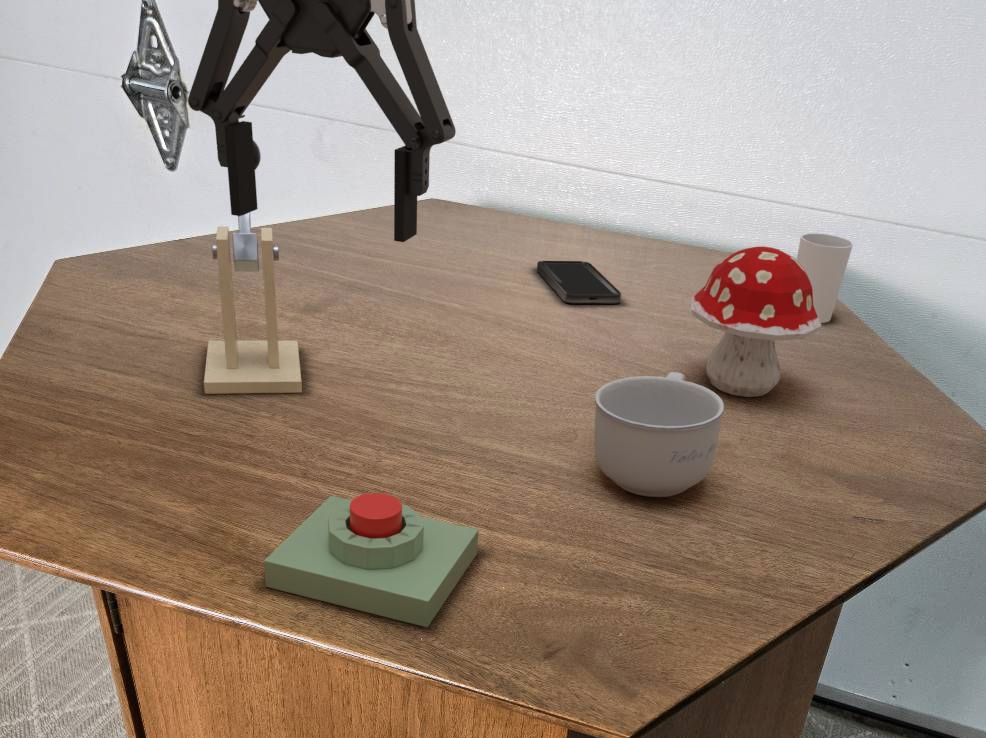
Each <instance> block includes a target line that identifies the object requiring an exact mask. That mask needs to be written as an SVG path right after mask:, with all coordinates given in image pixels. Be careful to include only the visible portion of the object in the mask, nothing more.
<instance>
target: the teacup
mask: <svg viewBox="0 0 986 738" xmlns="http://www.w3.org/2000/svg"><path fill="white" fill-rule="evenodd" d="M594 404H595V414H594V432H593V433H594V434H593V435H594V436H593V439H594V441H593V443H594V456H595V459H596V462H597V464H598V467H599V468H600V470H601V471H602V472H603V474H604V475H605V476H606V477H608V478H609V479H610V480H612V481H613V482H614V484H615V485H617V486H618V487H620V488H621V489H623V490H624V491H627V492H628V493H632V494H635V495H637V496H640V497H641V496H643V497H649V498H667V497H671V496H676V495H678V494H680V493H683V492H685V491H687V490H688V489H689V488H691V487H693V486H696V485H698V484H699V483H700V482H701V481H703V480H704V479H705V477H706V476H707V475H708V473H709V472H710V470H711V469H712V466H713V464H714V461H715V457H716V454H717V453H716V451H717V449H718V448H717V447H718V441H719V437H720V429H721V424H722V423H721V422H722V416H723V414H724V412H725V403H724V401H723V399H722V397H720V395H718V394H717V393H715V392H714V391H713V390H711V389H710V388H708V387H705V386H703V385H701V384H697V383H695V382H692V381H687V380H686V377H685V375H684V374H683V373H681V372H677V371H671V372H669V373H667V375H666V376H651V375H644V376H643V375H642V376H641V375H640V376H639V375H637V376H629V377H624V378H619V379H615V380H613V381H609V382H607V383H605V384H604V385H602V386H600V388H598V389H597V390H596V392H595V395H594Z"/></svg>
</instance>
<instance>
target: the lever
mask: <svg viewBox="0 0 986 738" xmlns="http://www.w3.org/2000/svg"><path fill="white" fill-rule="evenodd" d="M253 148H254V163H255V171H256V170H257V169H258V167H259V165H260V162H261V158H262V156H261V155H262V154H261V150H260V148H259V145H258V144H257V142H256V141H255V140H254V139H253ZM237 222H238V224H237V225H238V232H232V253H233V254H232V255H233V264H234V266H233V267H234V271H235V272H249V273H250V272H253V273H254V272H256V273H258V272H260V260H259V243H258V234H257V233H256V232H255V233H254V232H253V233H252V225H251V224H252V221H251V212H249V213H247V214H244V215H242V216H237Z"/></svg>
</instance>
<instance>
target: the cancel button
mask: <svg viewBox="0 0 986 738" xmlns="http://www.w3.org/2000/svg"><path fill="white" fill-rule="evenodd" d="M351 500H352V501H351V503H350V529H351V531H352V532H353V533H354V534H355V535H358V536H362V537H366V538H370V539H376V538H388V537H391V536H393V535H396V534H398V533H399V532H400V531H401V529H402V504H403V503H402V502H401V501H400V500H399V499H398V497H395V496H393V495H390V494H387V493H380V492H369V493H365V494H361V495H358V496H356V497H355V498H353V499H351Z"/></svg>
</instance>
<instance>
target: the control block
mask: <svg viewBox="0 0 986 738" xmlns="http://www.w3.org/2000/svg"><path fill="white" fill-rule="evenodd" d="M352 500H353V499H349V498H343V497H339V496H334V495H330V496H329V497H327V498H326V499H325V500H324V501H323V503H322V504H321V505H319V506H318V507H317V508H316V509H315V510H314V511H313V512H312V513H311V514H310V515H309V516H308V517H307V518H306V519H304V521H303V522H302V523H301V524H299V526H298V527H297V528H295V530H294V531H293V532H291V534H289V536H288V537H286V539H284V541H282V542H281V543H280V544H279V545H278V546H277V547H276V548H275V549H274V550H273V551H272V552H271V553H270V554H269V555H268V556H267V557H266V558H265V559H264V560H263V565H264V576H265V579H264V581H265V587H266V588H269V589H273V590H278V591H281V592H284V593H290V594H293V595H296V596H301V597H305V598H309V599H313V600H316V601H319V602H325V603H328V604H332V605H336V606H341V607H344V608H349V609H353V610H356V611H359V612H364V613H368V614H372V615H376V616H380V617H384V618H388V619H392V620H395V621H399V622H404V623H407V624H410V625H416V626H419V627H423V628H429V626H430V625H431V623H432V621H433V620H434V619H435V617H436V616H437V614H438V613H439V612H440V610H441V609H442V607H443V605H444V604H445V602H446V601H447V599H448V598H449V597H450V595H451V594H452V592H453V591H454V589H455V587H456V586H457V584H458V583H459V582H460V580H461V579H462V577H463V576H464V574H465V573H466V571H467V570H468V568H469V567H470V565H471V563H473V561H474V559H475V558H476V556H477V555H478V544H479V528H473V527H470V526H467V525H466V526H465V525H461V524H456V523H452V522H448V521H443V520H439V519H436V518H435V519H434V518H430V517H426V516H421V515H422V514H420V513H419V512H417V511H416V510H414V509H413V508H411V507H410V506H408V505H406V504H405V503H401V504H402V529H401V531H400V532H399V533H398V534H396V535H393V536H391V537H388V538H376V539H370V538H366V537H362V536H358V535H355V534H354V533H353V532H352V531H351V529H350V503H351V501H352Z"/></svg>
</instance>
